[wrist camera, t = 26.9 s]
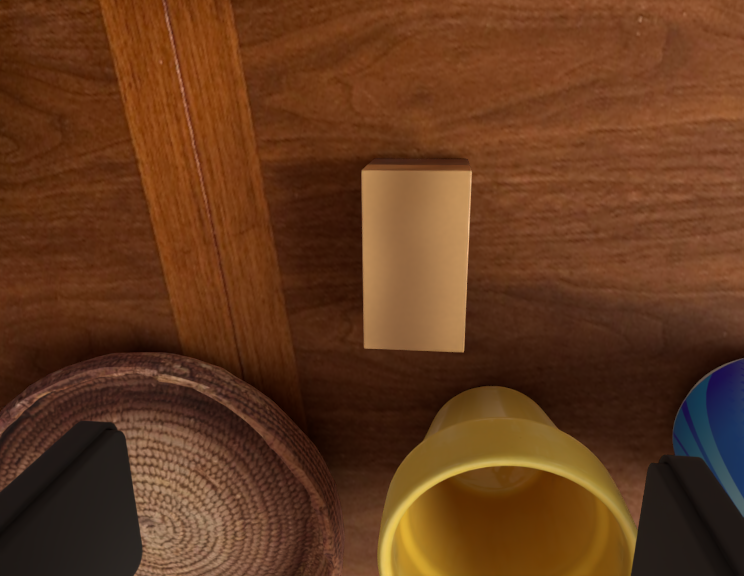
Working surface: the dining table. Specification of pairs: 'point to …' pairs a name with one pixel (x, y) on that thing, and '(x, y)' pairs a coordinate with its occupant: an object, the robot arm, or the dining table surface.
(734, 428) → the beer can
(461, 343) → the eraser
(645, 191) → the dining table surface
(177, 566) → the basket
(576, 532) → the flower pot
